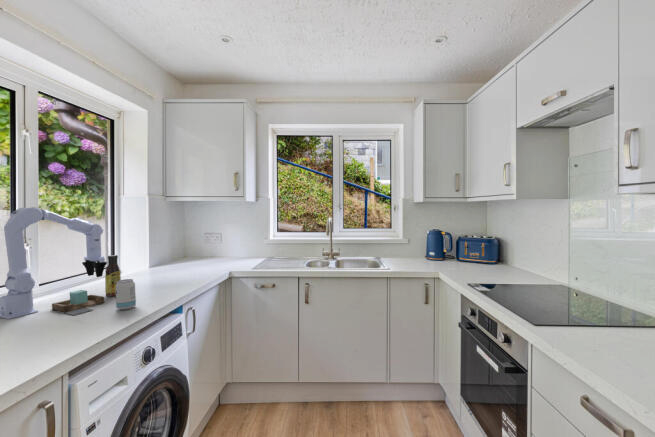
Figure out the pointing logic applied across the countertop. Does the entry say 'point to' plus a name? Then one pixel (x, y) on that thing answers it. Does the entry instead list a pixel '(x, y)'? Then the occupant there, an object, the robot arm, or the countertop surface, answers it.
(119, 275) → the sauce bottle
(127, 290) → the beverage can
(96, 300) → the parts box
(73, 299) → the teal block
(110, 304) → the countertop surface
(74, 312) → the rubber mat
